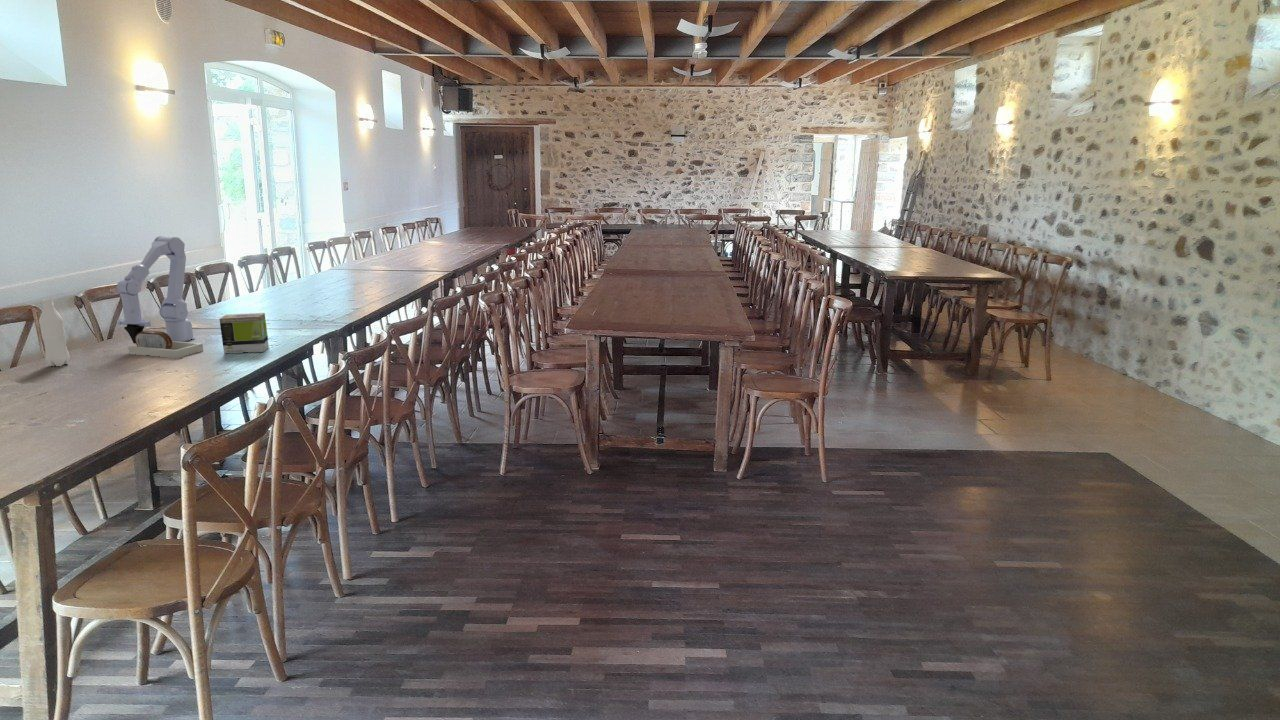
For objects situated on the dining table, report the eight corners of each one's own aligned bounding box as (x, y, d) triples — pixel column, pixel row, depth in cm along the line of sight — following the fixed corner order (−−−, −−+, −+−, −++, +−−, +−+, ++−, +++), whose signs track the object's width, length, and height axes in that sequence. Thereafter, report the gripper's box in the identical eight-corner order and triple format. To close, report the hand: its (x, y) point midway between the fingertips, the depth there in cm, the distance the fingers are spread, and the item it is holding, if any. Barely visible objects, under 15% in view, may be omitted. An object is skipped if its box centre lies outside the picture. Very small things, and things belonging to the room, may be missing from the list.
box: (156, 346, 313) (155, 339, 313) (203, 350, 308) (202, 343, 307) (129, 354, 301) (128, 346, 300) (177, 358, 296) (176, 350, 295)
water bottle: (74, 364, 284) (63, 298, 278) (52, 368, 278) (40, 301, 272) (65, 362, 288) (53, 296, 282) (43, 365, 282) (31, 299, 276)
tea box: (269, 347, 316) (265, 312, 312) (264, 352, 307) (260, 316, 303) (229, 348, 312) (225, 313, 309) (223, 354, 303) (218, 318, 299)
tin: (174, 351, 305) (171, 331, 303) (168, 353, 302) (165, 332, 300) (141, 349, 308) (138, 329, 306) (135, 351, 305) (132, 331, 303)
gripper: (108, 310, 302) (113, 343, 305) (137, 312, 298) (142, 346, 302) (124, 307, 308) (129, 340, 312) (153, 309, 305) (157, 342, 308)
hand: (136, 342), depth 307 cm, fingers closed
